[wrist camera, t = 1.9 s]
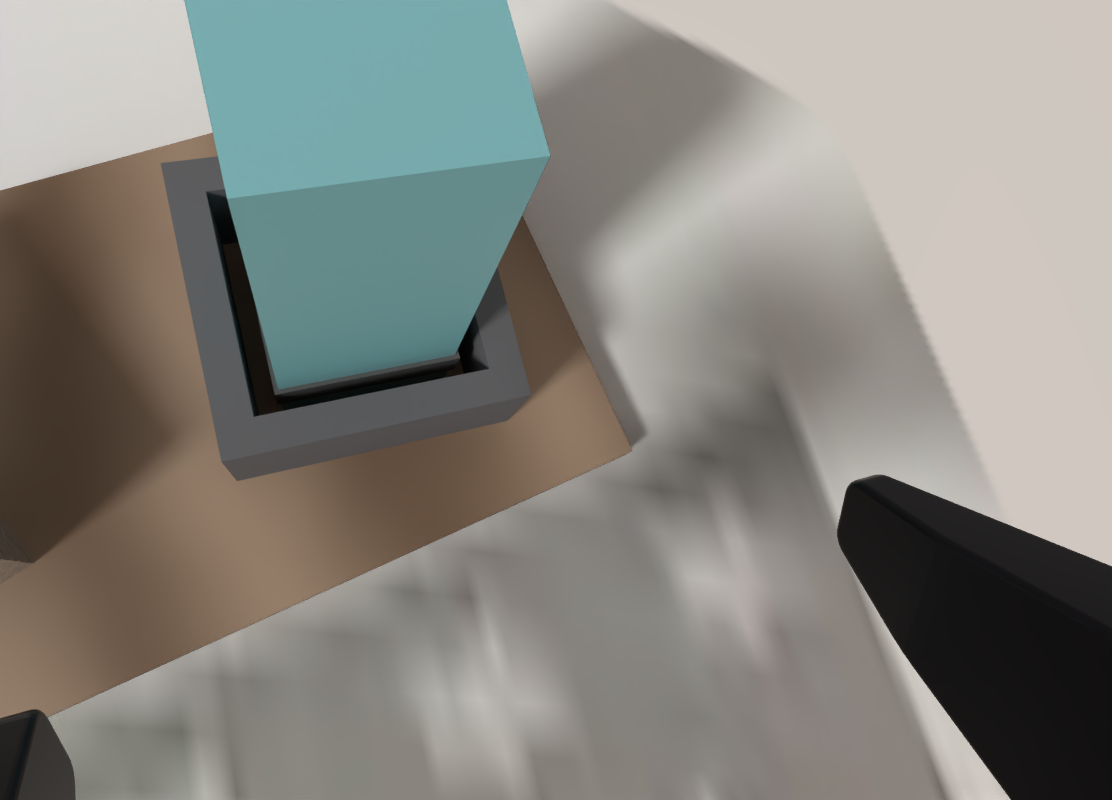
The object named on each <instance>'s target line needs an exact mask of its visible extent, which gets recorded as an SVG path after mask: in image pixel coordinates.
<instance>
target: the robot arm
mask: <svg viewBox="0 0 1112 800" xmlns="http://www.w3.org/2000/svg"><path fill="white" fill-rule="evenodd" d="M837 537H838V542H839V545H840V548H841V550H842V552H843V554H844V555H845V557H846V559H847V560H848V562H849V564H850V565H851V567H852V569H853V570H854V572H855V574H856V575H857V577H858V579H859V581H860V582H861V584H862V586H863V587H864V589H865V591H866V592H867V594H868V596H869V597H870V599H871V601H872V602H873V604H874V606H875V607H876V609H877V611H878V613H879V614H880V616H881V618H882V619H883V621H884V623H885V624H886V626H887V628H888V629H889V631H890V633H891V634H892V636H893V638H894V639H895V641H896V642H897V644H898V645H899V647H900V649H901V650H902V652H903V653H904V655H905V656H906V657H907V659H908V660H909V662H910V663H911V665H912V666H913V667H914V669H915V670H916V672H917V673H918V674H919V676H920V677H921V678H922V680H923V681H924V682H925V684H926V685H927V687H928V688H929V689H930V691H931V692H932V693H933V695H934V696H935V697H936V699H937V700H938V701H939V703H940V704H941V706H942V707H943V708H944V710H945V711H946V712H947V714H948V715H949V716H950V718H951V719H952V720H953V722H954V723H955V725H956V726H957V727H958V729H959V730H960V731H961V733H962V734H963V735H964V737H965V738H966V739H967V741H968V742H969V743H970V745H971V746H972V748H973V749H974V750H975V752H976V753H977V754H978V756H979V757H980V758H981V760H982V761H983V762H984V764H985V765H986V767H987V768H988V769H989V771H990V772H991V773H992V775H993V776H994V777H995V779H996V780H997V781H998V783H999V784H1000V786H1001V787H1002V788H1003V790H1004V791H1005V792H1006V794H1007V795H1008V796H1009V798H1010V799H1011V800H1112V566H1110V565H1107V564H1105V563H1102V562H1099V561H1097V560H1095V559H1092V558H1089V557H1087V556H1084V555H1082V554H1080V553H1077V552H1075V551H1072V550H1070V549H1067V548H1065V547H1062V546H1060V545H1057V544H1055V543H1052V542H1050V541H1047V540H1045V539H1042V538H1040V537H1037V536H1035V535H1032V534H1030V533H1027V532H1025V531H1022V530H1020V529H1017V528H1015V527H1013V526H1010V525H1008V524H1005V523H1003V522H1000V521H998V520H995V519H993V518H990V517H988V516H985V515H983V514H980V513H978V512H975V511H973V510H970V509H968V508H965V507H963V506H960V505H958V504H955V503H953V502H950V501H948V500H945V499H943V498H940V497H938V496H935V495H933V494H930V493H928V492H925V491H923V490H920V489H918V488H915V487H913V486H910V485H908V484H905V483H903V482H900V481H898V480H896V479H893V478H891V477H888V476H885V475H873V476H869V477H866V478H862V479H859V480H855V481H853V482H851V483H850V485H849V486H848V487H847V490H846V493H845V497H844V502H843V506H842V510H841V515H840V519H839V524H838V528H837ZM0 800H76V799H75V778H74V772H73V767H72V764H71V761H70V758H69V756H68V754H67V753H66V751H65V749H64V747H63V745H62V743H61V742H60V740H59V738H58V736H57V734H56V732H55V731H54V729H53V727H52V725H51V723H50V721H49V720H48V718H47V716H46V715H45V714H44V713H43V712H42V711H41V710H38V709H31V710H28V711H24V712H20V713H17V714H13V715H10V716H6V717H2V718H0Z"/></svg>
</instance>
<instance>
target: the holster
mask: <svg viewBox="0 0 1112 800" xmlns="http://www.w3.org/2000/svg"><path fill="white" fill-rule="evenodd" d="M161 168H162V173H163V178H164V183H165V188H166V193H167V198H168V203H169V208H170V212H171V217H172V222H173V227H174V232H175V237H176V242H177V247H178V252H179V257H180V262H181V266H182V271H183V276H184V281H185V286H186V291H187V296H188V301H189V306H190V311H191V316H192V320H193V325H194V330H195V335H196V340H197V345H198V350H199V355H200V360H201V365H202V369H203V374H204V379H205V384H206V389H207V394H208V399H209V404H210V409H211V414H212V419H213V423H214V428H215V433H216V438H217V443H218V448H219V453H220V458H221V462H222V463H223V465H224V466H225V467H226V468H227V470H228V471H229V472H230V473H231V474H232V476H233V477H234V478H235V479H236V481H240V480H245V479H249V478H254V477H258V476H263V475H267V474H272V473H276V472H281V471H285V470H289V469H294V468H298V467H303V466H307V465H312V464H316V463H321V462H325V461H330V460H334V459H339V458H343V457H348V456H352V455H357V454H361V453H366V452H370V451H375V450H379V449H384V448H388V447H393V446H397V445H402V444H406V443H411V442H415V441H419V440H424V439H428V438H433V437H437V436H442V435H446V434H451V433H455V432H460V431H464V430H469V429H473V428H478V427H482V426H487V425H491V424H496V423H500V422H505V421H507V420H508V419H509V418H510V417H511V416H512V415H513V414H514V413H515V412H516V411H517V410H518V409H519V408H520V407H521V406H522V404H523V403H524V402H525V401H526V400H527V399H528V398H529V397H530V396H531V392H530V388H529V384H528V380H527V377H526V373H525V369H524V365H523V362H522V358H521V354H520V350H519V347H518V343H517V339H516V335H515V331H514V328H513V324H512V320H511V316H510V313H509V309H508V305H507V301H506V298H505V294H504V290H503V286H502V283H501V279H500V275H499V271H498V268H496V270H495V272H494V274H493V277H492V279H491V281H490V283H489V285H488V287H487V289H486V291H485V293H484V295H483V297H482V299H481V302H480V304H479V306H478V308H477V310H476V312H475V314H474V316H473V318H472V320H471V322H470V324H469V326H468V329H467V331H466V333H465V335H464V337H463V339H462V341H461V343H460V345H459V347H458V352H459V356H460V360H461V364H462V368H463V372H464V374H461V375H457V376H452V377H447V378H442V379H437V380H432V381H427V382H422V383H417V384H412V385H407V386H403V387H398V388H393V389H388V390H383V391H378V392H373V393H368V394H363V395H358V396H353V397H349V398H344V399H339V400H334V401H329V402H324V403H319V404H314V405H309V406H304V407H299V408H295V409H290V410H285V411H280V412H275V413H270V414H265V415H260V416H259V413H258V409H257V404H256V399H255V395H254V390H253V385H252V380H251V376H250V371H249V366H248V362H247V357H246V352H245V348H244V343H243V338H242V333H241V329H240V324H239V319H238V315H237V310H236V305H235V301H234V296H233V291H232V286H231V282H230V277H229V272H228V268H227V263H226V258H225V254H224V249H223V245H224V244H230V243H237V242H239V241H238V237H237V234H236V230H235V226H234V223H233V219H232V215H231V211H230V208H229V204H228V200H227V196H226V191H225V187H224V182H223V177H222V173H221V168H220V163H219V159H218V156H216V157H207V158H199V159H190V160H182V161H174V162H165V163H161Z"/></svg>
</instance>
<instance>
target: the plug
mask: <svg viewBox="0 0 1112 800" xmlns="http://www.w3.org/2000/svg"><path fill="white" fill-rule="evenodd" d="M184 1H185V6H186V10H187V15H188V20H189V24H190V29H191V34H192V38H193V43H194V47H195V52H196V57H197V61H198V66H199V71H200V75H201V80H202V85H203V89H204V94H205V98H206V103H207V108H208V112H209V117H210V122H211V126H212V131H213V136H214V140H215V145H216V150H217V154H218V159H219V163H220V168H221V173H222V177H223V182H224V187H225V191H226V196H227V200H228V204H229V208H230V211H231V215H232V219H233V223H234V226H235V230H236V234H237V237H238V241H239V245H240V249H241V252H242V256H243V260H244V264H245V267H246V271H247V275H248V278H249V282H250V286H251V290H252V293H253V297H254V302H255V307H256V311H257V316H258V321H259V325H260V330H261V334H262V339H263V344H264V348H265V353H266V357H267V362H268V367H269V371H270V376H271V381H272V385H273V390H274V394H275V398H276V401H277V405H279V404H282V405H283V409H284V411H285V410H290V409H295V408H299V407H304V406H309V405H314V404H319V403H324V402H329V401H334V400H339V399H344V398H349V397H353V396H358V395H363V394H368V393H373V392H378V391H383V390H388V389H393V388H398V387H403V386H407V385H412V384H417V383H422V382H427V381H432V380H437V379H442V378H444V376H445V374H446V372H447V370H452V369H455V367H456V365H457V363H458V361H459V359H460V356H459V352H458V347H459V345H460V343H461V341H462V339H463V337H464V335H465V333H466V331H467V329H468V326H469V324H470V322H471V320H472V318H473V316H474V314H475V312H476V310H477V308H478V306H479V304H480V302H481V299H482V297H483V295H484V293H485V291H486V289H487V287H488V285H489V283H490V281H491V279H492V277H493V274H494V272H495V270H496V268H497V266H498V264H499V262H500V260H501V258H502V256H503V254H504V252H505V249H506V247H507V245H508V243H509V241H510V239H511V237H512V235H513V233H514V231H515V229H516V227H517V225H518V222H519V220H520V218H521V216H522V214H523V212H524V210H525V208H526V206H527V204H528V202H529V200H530V197H531V195H532V193H533V191H534V189H535V187H536V185H537V183H538V181H539V179H540V177H541V175H542V172H543V170H544V168H545V166H546V164H547V162H548V160H549V158H550V152H549V149H548V145H547V142H546V138H545V135H544V131H543V128H542V124H541V121H540V117H539V113H538V110H537V106H536V103H535V99H534V96H533V92H532V89H531V85H530V82H529V78H528V74H527V71H526V67H525V64H524V60H523V57H522V53H521V50H520V46H519V43H518V39H517V36H516V32H515V28H514V25H513V21H512V18H511V14H510V11H509V7H508V4H507V0H184Z"/></svg>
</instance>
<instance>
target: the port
mask: <svg viewBox="0 0 1112 800" xmlns="http://www.w3.org/2000/svg"><path fill="white" fill-rule="evenodd" d="M32 564H33V562H32V561H31V559H30V558H29V556H28V555H27V554H26V552H25V551H24V549H23V548H22V546H21V545H20V543H19V542H18V541H17V539H16V538H15V536H14V535H13V533H12V532H11V531H10V529H9V528H8V526H7V525H6V523H5V522H4V521H3V519H2V518H1V516H0V584H2V583H3V582H5V581H7V580H8V579H10V578H11V577H13V576H14V575H16V574H18V573H19V572H21V571H22V570H24V569H26V568H27V567H29V566H30V565H32Z"/></svg>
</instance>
